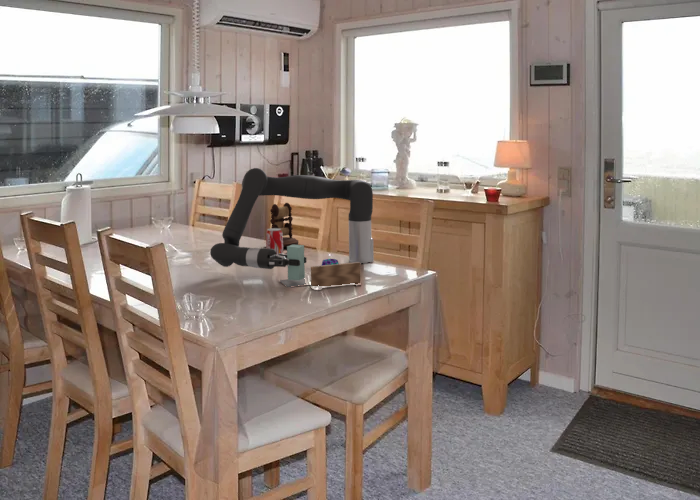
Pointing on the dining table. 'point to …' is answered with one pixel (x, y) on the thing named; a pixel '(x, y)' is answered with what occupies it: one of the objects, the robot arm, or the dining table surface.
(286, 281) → the slate coaster
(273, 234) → the soda can
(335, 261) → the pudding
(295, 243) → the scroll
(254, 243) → the dining table surface
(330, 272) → the walnut screen
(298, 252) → the teal rectangular block
